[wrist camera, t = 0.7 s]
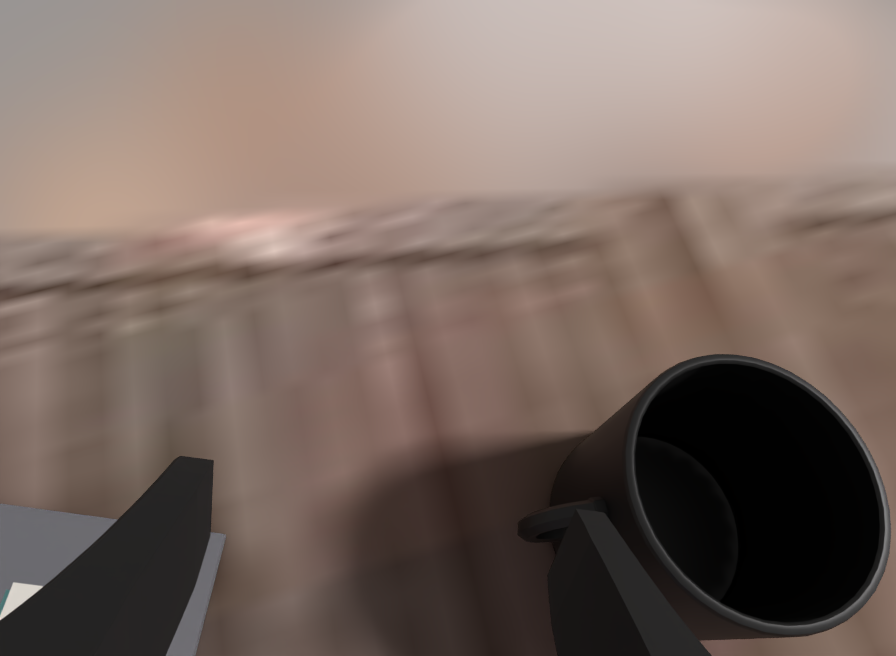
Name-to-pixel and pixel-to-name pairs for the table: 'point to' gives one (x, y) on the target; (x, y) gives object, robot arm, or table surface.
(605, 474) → the mug
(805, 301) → the table surface
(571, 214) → the table surface
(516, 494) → the table surface
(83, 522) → the mat
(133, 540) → the robot arm
